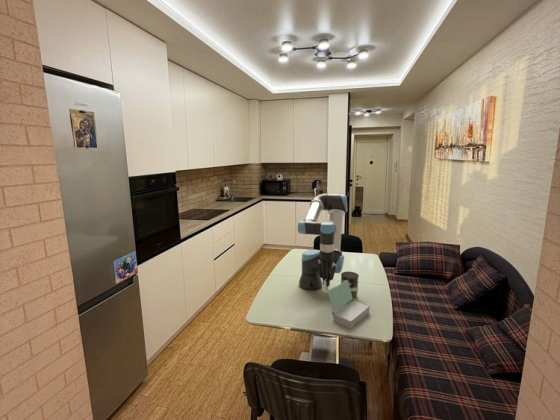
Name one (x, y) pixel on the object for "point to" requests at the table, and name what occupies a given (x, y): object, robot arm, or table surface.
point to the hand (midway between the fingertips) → (325, 290)
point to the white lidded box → (351, 314)
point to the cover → (340, 295)
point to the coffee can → (351, 282)
